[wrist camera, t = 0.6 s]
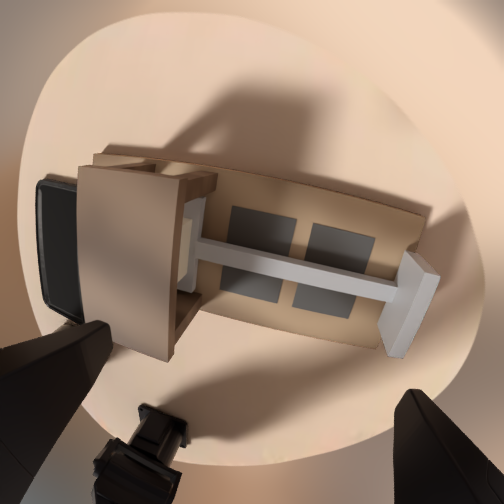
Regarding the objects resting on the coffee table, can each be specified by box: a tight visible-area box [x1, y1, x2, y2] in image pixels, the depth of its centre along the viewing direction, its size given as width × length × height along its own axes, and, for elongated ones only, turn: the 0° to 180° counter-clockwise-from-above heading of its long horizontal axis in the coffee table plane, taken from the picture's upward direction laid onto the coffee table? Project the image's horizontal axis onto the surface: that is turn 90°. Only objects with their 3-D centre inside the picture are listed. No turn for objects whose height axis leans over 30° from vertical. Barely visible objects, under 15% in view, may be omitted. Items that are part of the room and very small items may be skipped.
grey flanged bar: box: [177, 196, 441, 359], centre depth 18 cm, size 7×20×4 cm, turn 80°
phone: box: [35, 179, 85, 325], centre depth 25 cm, size 8×1×15 cm
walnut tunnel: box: [77, 162, 218, 363], centre depth 18 cm, size 11×6×7 cm, turn 170°
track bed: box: [93, 153, 426, 349], centre depth 21 cm, size 11×26×1 cm, turn 80°
